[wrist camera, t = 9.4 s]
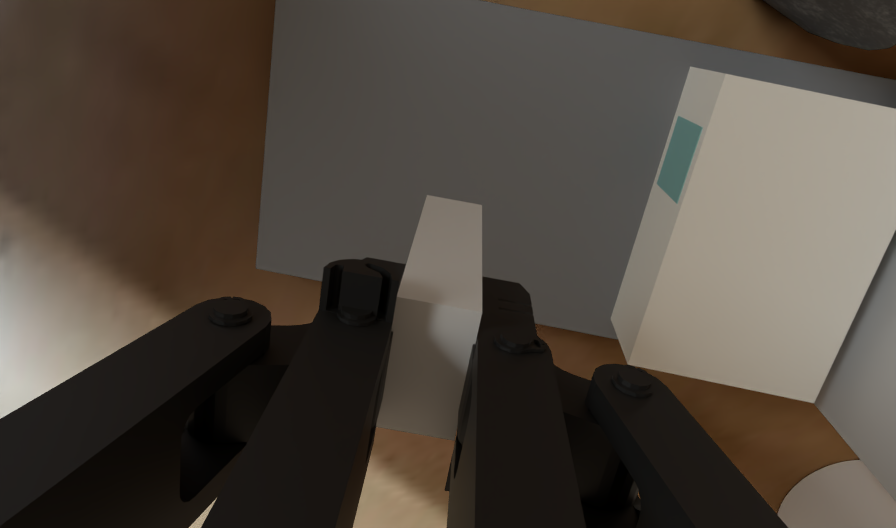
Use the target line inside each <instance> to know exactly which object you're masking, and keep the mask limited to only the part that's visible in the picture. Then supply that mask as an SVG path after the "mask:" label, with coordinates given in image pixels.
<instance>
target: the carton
mask: <svg viewBox="0 0 896 528" xmlns="http://www.w3.org/2000/svg"><path fill="white" fill-rule="evenodd" d="M895 230H896V109H894V108H890V107H885V106H880V105H875V104H870V103H865V102H860V101H856V100H851V99H846V98H841V97H836V96H831V95H827V94H822V93H817V92H812V91H807V90H802V89H797V88H793V87H788V86H783V85H778V84H773V83H768V82H763V81H759V80H754V79H749V78H744V77H739V76H734V75H730V74H725V73H720V72H715V71H710V70H705V69H700V68H695V67H691V66H690V69H689V72H688V75H687V79H686V82H685V85H684V88H683V91H682V94H681V98H680V101H679V104H678V107H677V110H676V113H675V116H674V120H673V123H672V126H671V129H670V132H669V135H668V139H667V142H666V145H665V148H664V151H663V154H662V158H661V161H660V164H659V167H658V170H657V173H656V177H655V180H654V183H653V186H652V189H651V192H650V196H649V199H648V202H647V205H646V208H645V211H644V214H643V218H642V221H641V224H640V227H639V230H638V233H637V237H636V240H635V243H634V246H633V249H632V252H631V256H630V259H629V262H628V265H627V268H626V271H625V275H624V278H623V281H622V284H621V287H620V290H619V294H618V297H617V300H616V303H615V306H614V309H613V313H612V316H611V321H612V324H613V327H614V329H615V332H616V335H617V337H618V340H619V342H620V345H621V348H622V350H623V353H624V356H625V358H626V361H627V364H628V365H633V366H638V367H642V368H647V369H652V370H657V371H662V372H666V373H671V374H676V375H681V376H686V377H690V378H695V379H700V380H705V381H710V382H714V383H719V384H724V385H729V386H734V387H738V388H743V389H748V390H753V391H758V392H762V393H767V394H772V395H777V396H782V397H786V398H791V399H796V400H801V401H806V402H810V403H814V402H815V400H816V398H817V396H818V394H819V392H820V390H821V387H822V385H823V383H824V381H825V379H826V377H827V375H828V373H829V370H830V368H831V366H832V364H833V362H834V360H835V358H836V356H837V353H838V351H839V349H840V347H841V345H842V343H843V341H844V339H845V336H846V334H847V332H848V330H849V328H850V326H851V324H852V321H853V319H854V317H855V315H856V313H857V311H858V309H859V307H860V304H861V302H862V300H863V298H864V296H865V294H866V292H867V290H868V287H869V285H870V283H871V281H872V279H873V277H874V275H875V273H876V270H877V268H878V266H879V264H880V262H881V260H882V258H883V256H884V253H885V251H886V249H887V247H888V245H889V243H890V241H891V239H892V236H893V234H894V232H895Z"/></svg>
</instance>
